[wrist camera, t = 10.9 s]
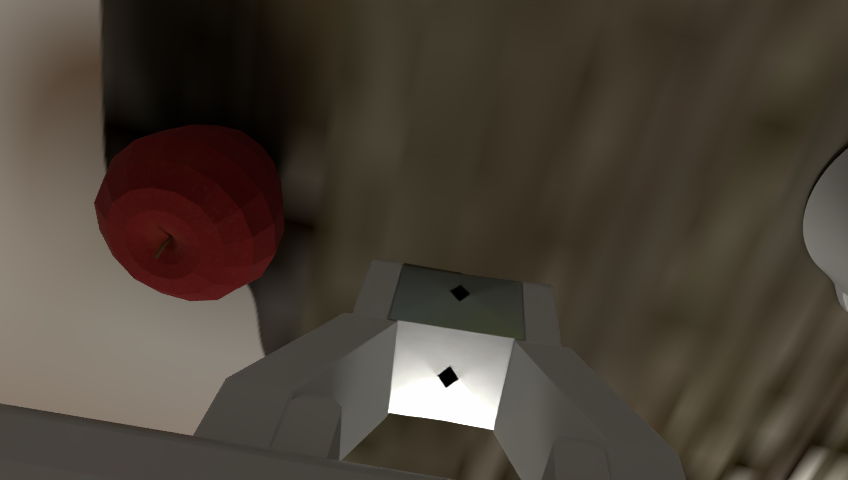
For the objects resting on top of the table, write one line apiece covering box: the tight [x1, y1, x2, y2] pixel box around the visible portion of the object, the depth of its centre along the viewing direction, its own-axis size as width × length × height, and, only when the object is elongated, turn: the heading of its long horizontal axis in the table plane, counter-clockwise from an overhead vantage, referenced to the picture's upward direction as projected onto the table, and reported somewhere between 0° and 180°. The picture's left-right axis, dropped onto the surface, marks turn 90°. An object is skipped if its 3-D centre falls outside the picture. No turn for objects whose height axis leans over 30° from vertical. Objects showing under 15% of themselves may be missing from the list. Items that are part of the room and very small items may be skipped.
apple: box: [94, 125, 284, 301], centre depth 42 cm, size 12×12×13 cm
